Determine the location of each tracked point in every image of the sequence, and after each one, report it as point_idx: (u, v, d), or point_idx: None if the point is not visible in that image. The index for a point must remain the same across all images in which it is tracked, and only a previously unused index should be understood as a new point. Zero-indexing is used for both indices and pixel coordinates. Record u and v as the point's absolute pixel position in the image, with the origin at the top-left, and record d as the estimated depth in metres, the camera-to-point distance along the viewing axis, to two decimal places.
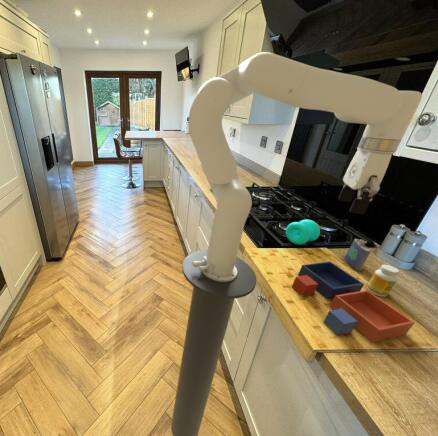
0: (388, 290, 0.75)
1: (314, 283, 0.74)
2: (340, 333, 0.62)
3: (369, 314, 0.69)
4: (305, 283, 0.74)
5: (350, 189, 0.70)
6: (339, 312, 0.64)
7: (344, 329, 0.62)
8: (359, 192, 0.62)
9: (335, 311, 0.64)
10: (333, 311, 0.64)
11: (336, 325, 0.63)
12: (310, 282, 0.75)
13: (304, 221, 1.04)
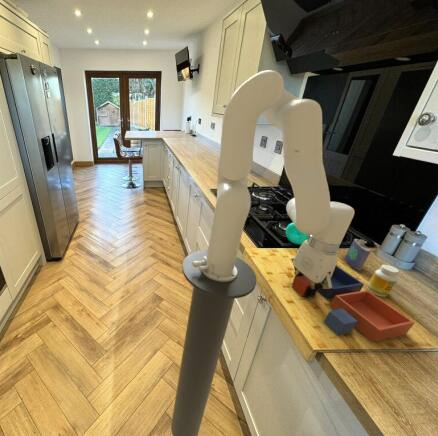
0: (388, 290, 0.75)
1: None
2: (340, 333, 0.62)
3: (369, 314, 0.69)
4: (305, 283, 0.74)
5: None
6: (339, 312, 0.64)
7: (344, 329, 0.62)
8: (313, 283, 0.72)
9: (335, 311, 0.64)
10: (333, 311, 0.64)
11: (336, 325, 0.63)
12: (310, 282, 0.75)
13: None
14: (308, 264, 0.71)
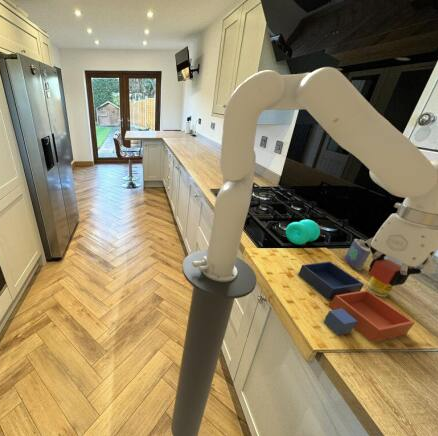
0: (388, 290, 0.75)
1: None
2: (340, 333, 0.62)
3: (369, 314, 0.69)
4: (392, 268, 0.59)
5: None
6: (339, 312, 0.64)
7: (344, 329, 0.62)
8: (405, 268, 0.56)
9: (335, 311, 0.64)
10: (333, 311, 0.64)
11: (336, 325, 0.63)
12: (397, 267, 0.59)
13: (304, 221, 1.04)
14: (399, 243, 0.56)
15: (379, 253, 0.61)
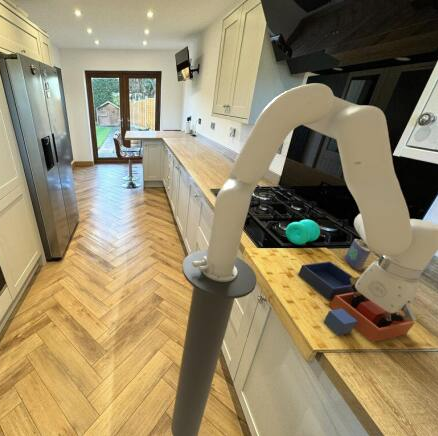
0: None
1: (384, 311, 0.64)
2: (340, 333, 0.62)
3: None
4: (374, 311, 0.64)
5: (361, 298, 0.68)
6: (339, 312, 0.64)
7: (344, 329, 0.62)
8: (388, 314, 0.61)
9: (335, 311, 0.64)
10: (333, 311, 0.64)
11: (336, 325, 0.63)
12: (379, 310, 0.65)
13: (304, 221, 1.04)
14: (379, 290, 0.61)
15: (359, 292, 0.67)
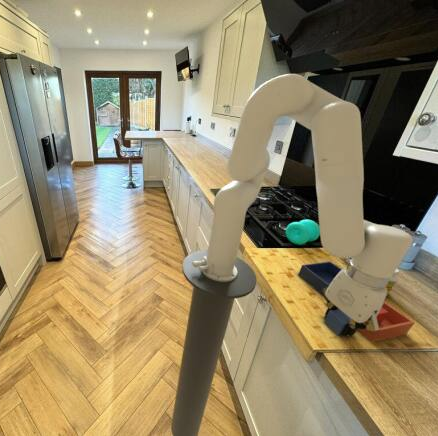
0: (388, 290, 0.75)
1: (384, 311, 0.64)
2: (340, 333, 0.62)
3: None
4: None
5: None
6: (339, 312, 0.64)
7: None
8: (353, 322, 0.59)
9: (335, 311, 0.64)
10: (333, 311, 0.64)
11: (336, 325, 0.63)
12: None
13: (304, 221, 1.04)
14: (347, 299, 0.59)
15: (332, 303, 0.64)
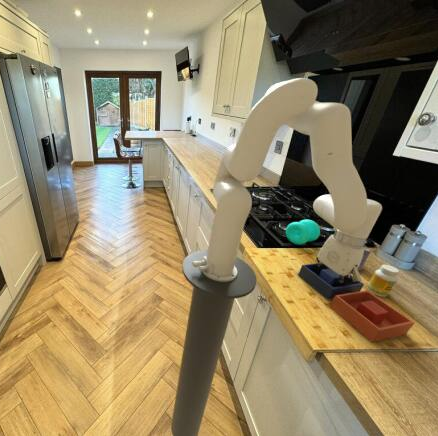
0: (388, 290, 0.75)
1: (384, 311, 0.64)
2: None
3: None
4: (374, 311, 0.64)
5: (323, 268, 0.81)
6: (329, 270, 0.80)
7: (333, 283, 0.77)
8: (341, 277, 0.74)
9: (326, 270, 0.80)
10: (324, 270, 0.80)
11: (327, 280, 0.78)
12: (379, 310, 0.65)
13: (304, 221, 1.04)
14: (334, 258, 0.75)
15: (321, 262, 0.81)
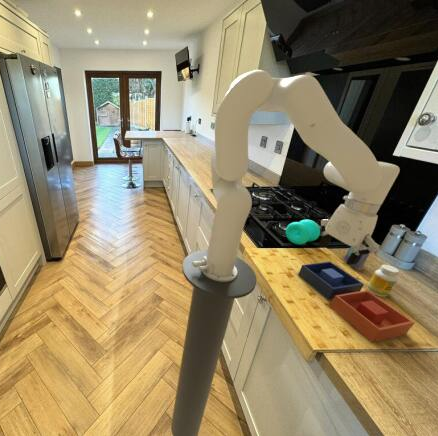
0: (388, 290, 0.75)
1: (384, 311, 0.64)
2: None
3: None
4: (374, 311, 0.64)
5: (328, 237, 0.77)
6: (329, 270, 0.80)
7: (333, 283, 0.77)
8: (356, 248, 0.68)
9: (326, 270, 0.80)
10: (324, 270, 0.80)
11: (327, 280, 0.78)
12: (379, 310, 0.65)
13: (304, 221, 1.04)
14: (344, 228, 0.69)
15: None
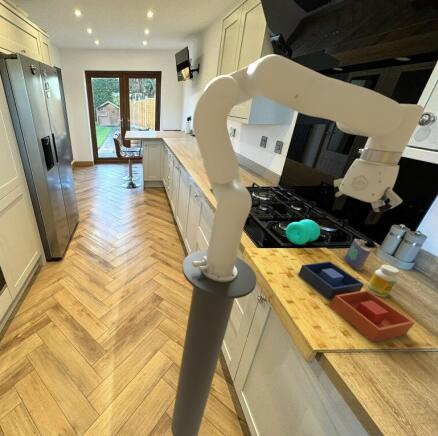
0: (388, 290, 0.75)
1: (384, 311, 0.64)
2: None
3: None
4: (374, 311, 0.64)
5: (343, 198, 0.71)
6: (329, 270, 0.80)
7: (333, 283, 0.77)
8: (375, 204, 0.61)
9: (326, 270, 0.80)
10: (324, 270, 0.80)
11: (327, 280, 0.78)
12: (379, 310, 0.65)
13: (304, 221, 1.04)
14: (361, 183, 0.63)
15: None
